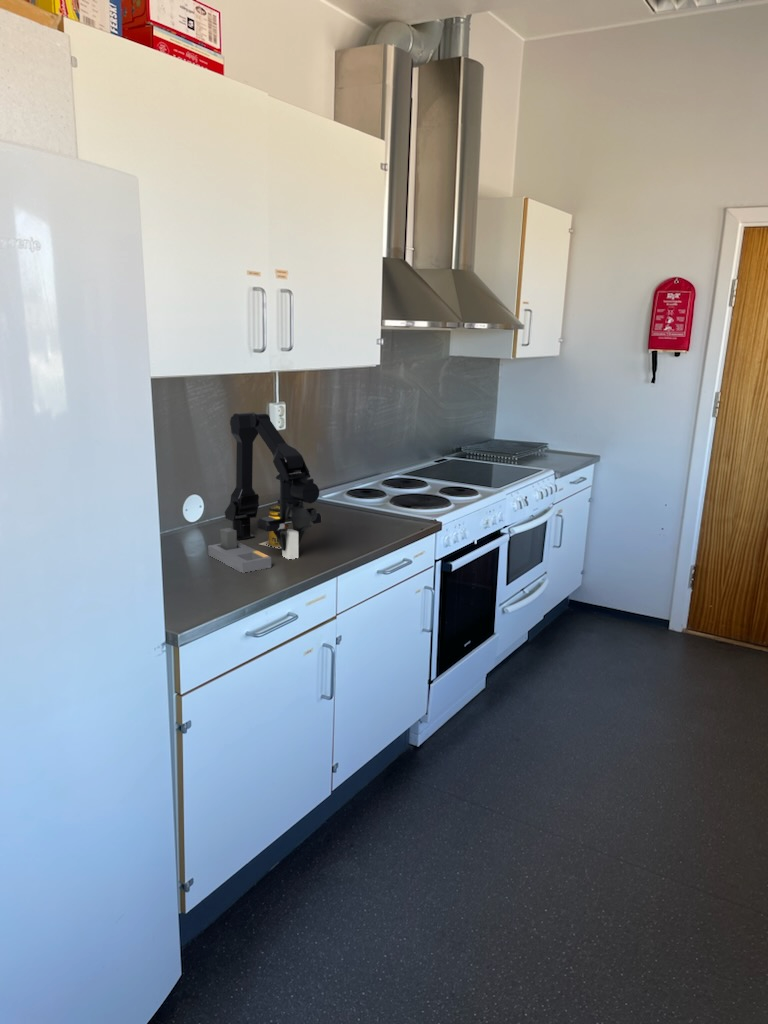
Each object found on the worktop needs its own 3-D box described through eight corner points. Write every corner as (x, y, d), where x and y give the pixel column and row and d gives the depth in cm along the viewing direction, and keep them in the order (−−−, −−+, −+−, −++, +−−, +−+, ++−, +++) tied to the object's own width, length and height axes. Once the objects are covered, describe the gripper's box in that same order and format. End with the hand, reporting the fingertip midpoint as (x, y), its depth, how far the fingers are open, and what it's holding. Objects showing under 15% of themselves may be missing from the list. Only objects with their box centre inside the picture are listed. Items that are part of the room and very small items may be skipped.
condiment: (280, 549, 225) (280, 510, 222) (258, 544, 229) (257, 507, 226) (294, 543, 231) (294, 506, 228) (272, 539, 235) (272, 502, 232)
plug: (282, 556, 217) (282, 530, 216) (290, 554, 219) (290, 528, 217) (289, 559, 215) (289, 533, 213) (298, 558, 216) (298, 531, 214)
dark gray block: (221, 555, 217) (220, 529, 215) (230, 553, 219) (229, 527, 217) (227, 558, 214) (227, 532, 212) (237, 557, 216) (236, 530, 214)
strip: (208, 555, 216) (208, 544, 216) (236, 550, 222) (235, 540, 221) (242, 573, 202) (242, 562, 201) (271, 567, 207) (271, 556, 206)
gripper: (277, 506, 201) (277, 561, 205) (332, 498, 212) (332, 550, 216) (256, 498, 209) (256, 551, 213) (310, 491, 221) (310, 541, 224)
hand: (290, 548), depth 216 cm, fingers open, 4 cm apart
